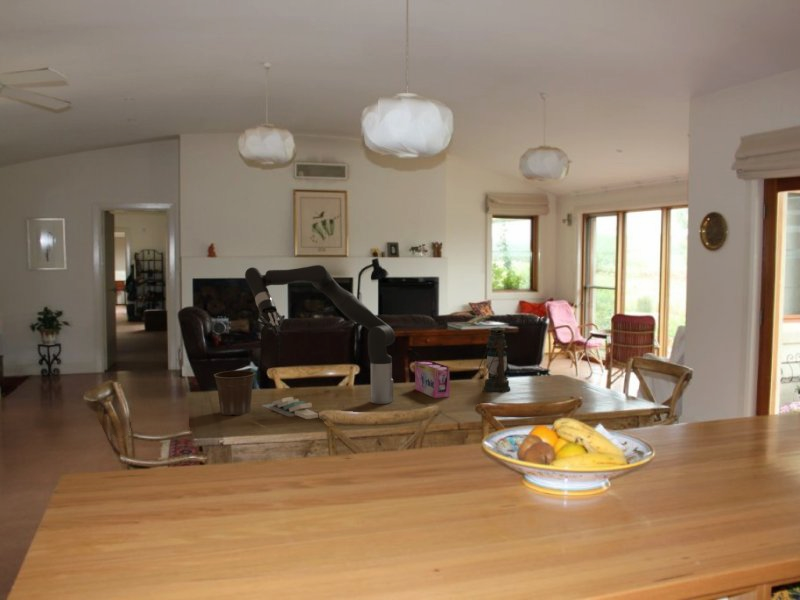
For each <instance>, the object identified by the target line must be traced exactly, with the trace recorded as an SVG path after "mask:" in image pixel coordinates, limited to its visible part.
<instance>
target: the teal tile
mask: <svg viewBox="0 0 800 600" xmlns="http://www.w3.org/2000/svg"><path fill="white" fill-rule="evenodd" d="M305 403H306V401H305V400H299V402H293V403H291V404H288V405H285V406H283V408H284V410H288V409H289V408H291V407H294V406H297V405H299V404H305Z"/></svg>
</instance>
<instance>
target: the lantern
mask: <svg viewBox="0 0 800 600" xmlns="http://www.w3.org/2000/svg"><path fill="white" fill-rule="evenodd" d="M505 330H506V329H505V328H502V327H498V326H497V327H491V328H488V331H490V332H489V333H490V334H488V340H486V341H487V345H486V350H485V353H484V355H483V357H482V359H481V361H480V364H479V367H478V369H477V371H478V374H479V377H486V376H487V374H488V375H489V376H490V377H489V378H487V379H485V380H484V386H483V387H482V388H483V389H482V390H483V391H484V392H487V393H495V394H497V393H508V392H510V391H511V387H510V383H509V382H510V381H509V377H506V376H505V372H506V370H507V369H508V366H509V364H508V362H507V361H508V360H507V359H508V358H507V356H508V355H507V352H506V351H505V348H508V346H507V340H506V339H505V338H506V335H505V334H504V331H505ZM486 356H487V357H486ZM485 357H486V363H485V364H486V366H485V367H486V369H487V372H486V373H485V374H484V375H482V374H481V373H480V368H481V365H482V363H483V361H484V359H485Z"/></svg>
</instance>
